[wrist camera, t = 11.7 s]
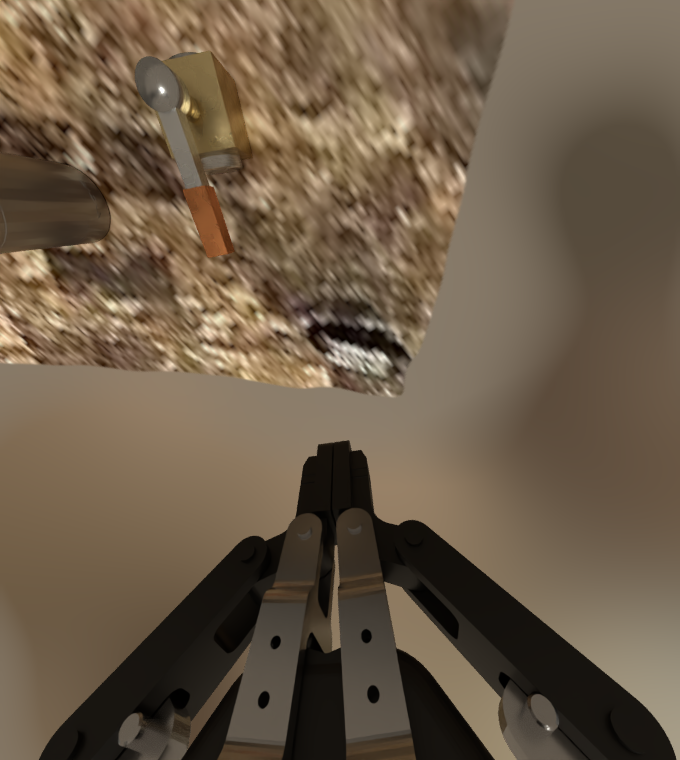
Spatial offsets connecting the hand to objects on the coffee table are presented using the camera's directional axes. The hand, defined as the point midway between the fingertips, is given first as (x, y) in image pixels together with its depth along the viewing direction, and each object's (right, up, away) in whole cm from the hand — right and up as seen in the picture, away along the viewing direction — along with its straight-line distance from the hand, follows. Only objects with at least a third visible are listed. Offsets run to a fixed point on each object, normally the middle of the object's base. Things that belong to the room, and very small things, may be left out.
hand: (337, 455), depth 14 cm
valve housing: (-15, +34, +20) cm, 43 cm away
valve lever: (-14, +24, +14) cm, 31 cm away
